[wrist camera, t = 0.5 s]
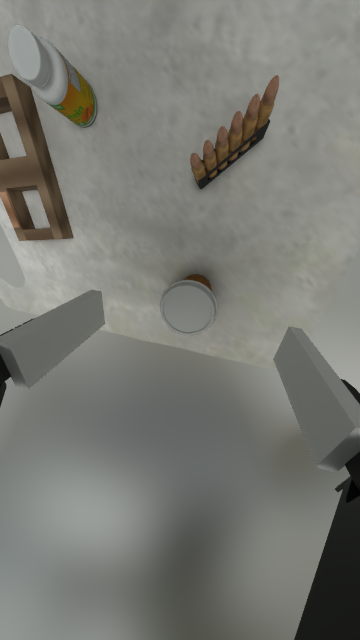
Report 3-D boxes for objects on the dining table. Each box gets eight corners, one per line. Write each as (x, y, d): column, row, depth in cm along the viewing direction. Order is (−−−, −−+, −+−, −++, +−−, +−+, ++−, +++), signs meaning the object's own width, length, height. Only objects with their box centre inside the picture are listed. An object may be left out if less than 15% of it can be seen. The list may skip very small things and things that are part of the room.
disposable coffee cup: (173, 305, 41) (156, 332, 31) (176, 263, 37) (158, 278, 26) (214, 312, 40) (212, 342, 30) (222, 269, 36) (223, 287, 25)
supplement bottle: (75, 133, 30) (20, 97, 22) (60, 87, 28) (-8, 28, 20) (102, 121, 29) (54, 77, 20) (89, 72, 27) (28, 0, 18)
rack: (-22, 100, 31) (-46, 88, 28) (30, 87, 29) (10, 72, 26) (31, 239, 41) (18, 240, 38) (73, 237, 39) (62, 238, 36)
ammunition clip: (200, 189, 31) (190, 170, 20) (195, 178, 30) (181, 153, 20) (263, 137, 26) (291, 78, 16) (258, 123, 26) (283, 53, 15)
